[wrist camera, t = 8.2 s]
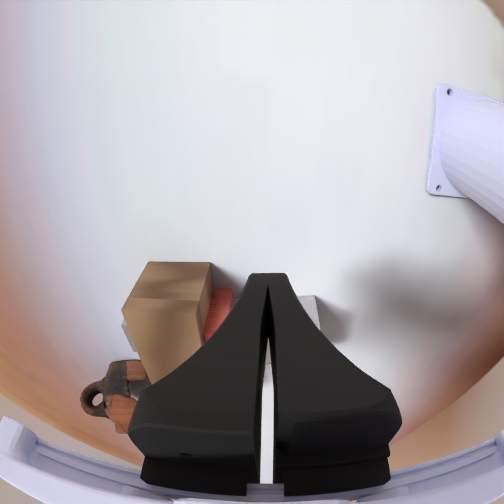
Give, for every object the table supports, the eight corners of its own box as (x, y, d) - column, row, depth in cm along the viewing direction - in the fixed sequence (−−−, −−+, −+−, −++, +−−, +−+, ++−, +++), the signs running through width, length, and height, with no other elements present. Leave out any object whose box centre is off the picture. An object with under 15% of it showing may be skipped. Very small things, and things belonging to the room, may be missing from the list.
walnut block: (210, 262, 23) (195, 314, 18) (223, 364, 29) (216, 412, 24) (148, 261, 23) (121, 309, 18) (175, 360, 29) (162, 407, 24)
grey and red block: (315, 285, 24) (323, 330, 19) (312, 334, 26) (317, 378, 22) (129, 290, 25) (108, 330, 20) (147, 335, 28) (131, 374, 23)
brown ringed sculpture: (168, 354, 30) (179, 431, 25) (179, 370, 38) (188, 430, 33) (66, 359, 27) (70, 431, 23) (95, 375, 35) (100, 432, 31)
